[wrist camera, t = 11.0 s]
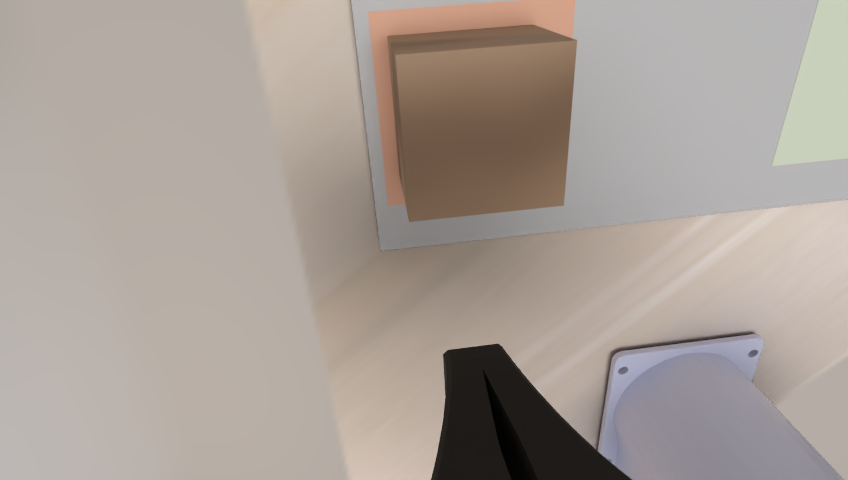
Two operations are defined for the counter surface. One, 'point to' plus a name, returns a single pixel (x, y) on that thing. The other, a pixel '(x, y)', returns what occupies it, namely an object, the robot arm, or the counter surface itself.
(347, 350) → the counter surface
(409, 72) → the walnut block
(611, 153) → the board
